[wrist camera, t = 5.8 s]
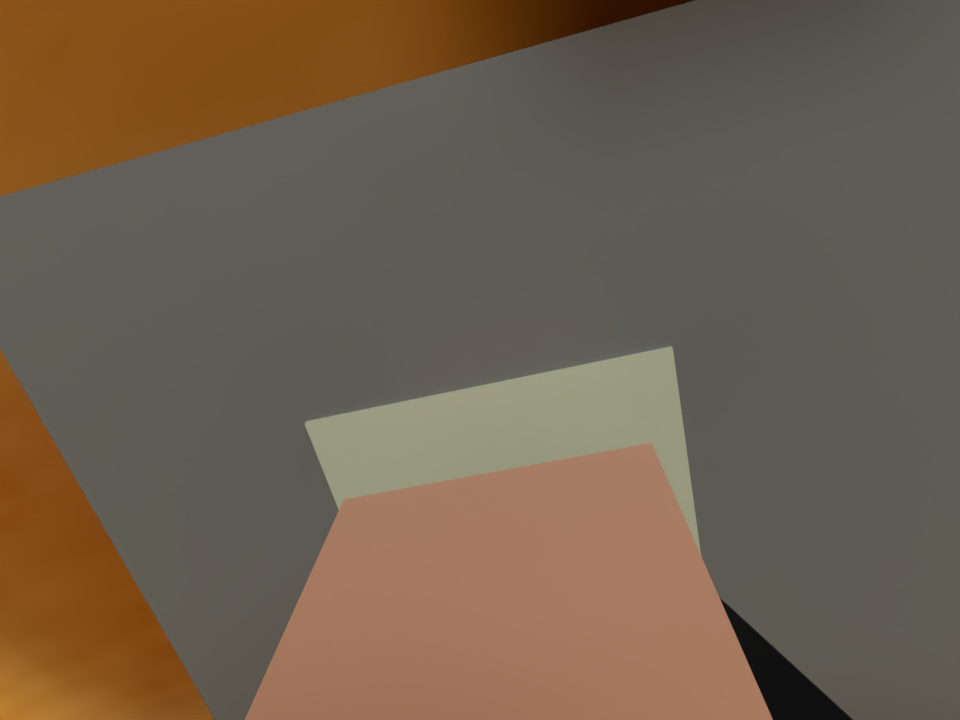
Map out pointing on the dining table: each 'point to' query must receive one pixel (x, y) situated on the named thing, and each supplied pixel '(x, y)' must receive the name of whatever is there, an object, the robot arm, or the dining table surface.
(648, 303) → the charcoal plate
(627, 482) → the terracotta block
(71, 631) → the dining table surface
